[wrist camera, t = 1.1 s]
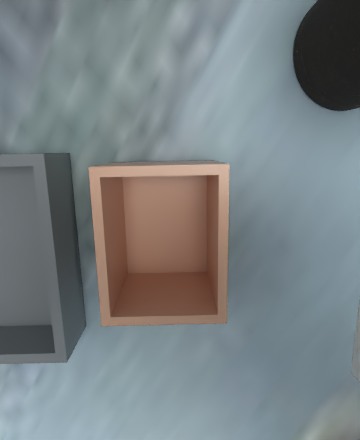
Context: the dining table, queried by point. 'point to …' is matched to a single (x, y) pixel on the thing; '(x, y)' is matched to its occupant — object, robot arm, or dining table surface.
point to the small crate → (161, 241)
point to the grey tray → (38, 260)
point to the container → (330, 54)
